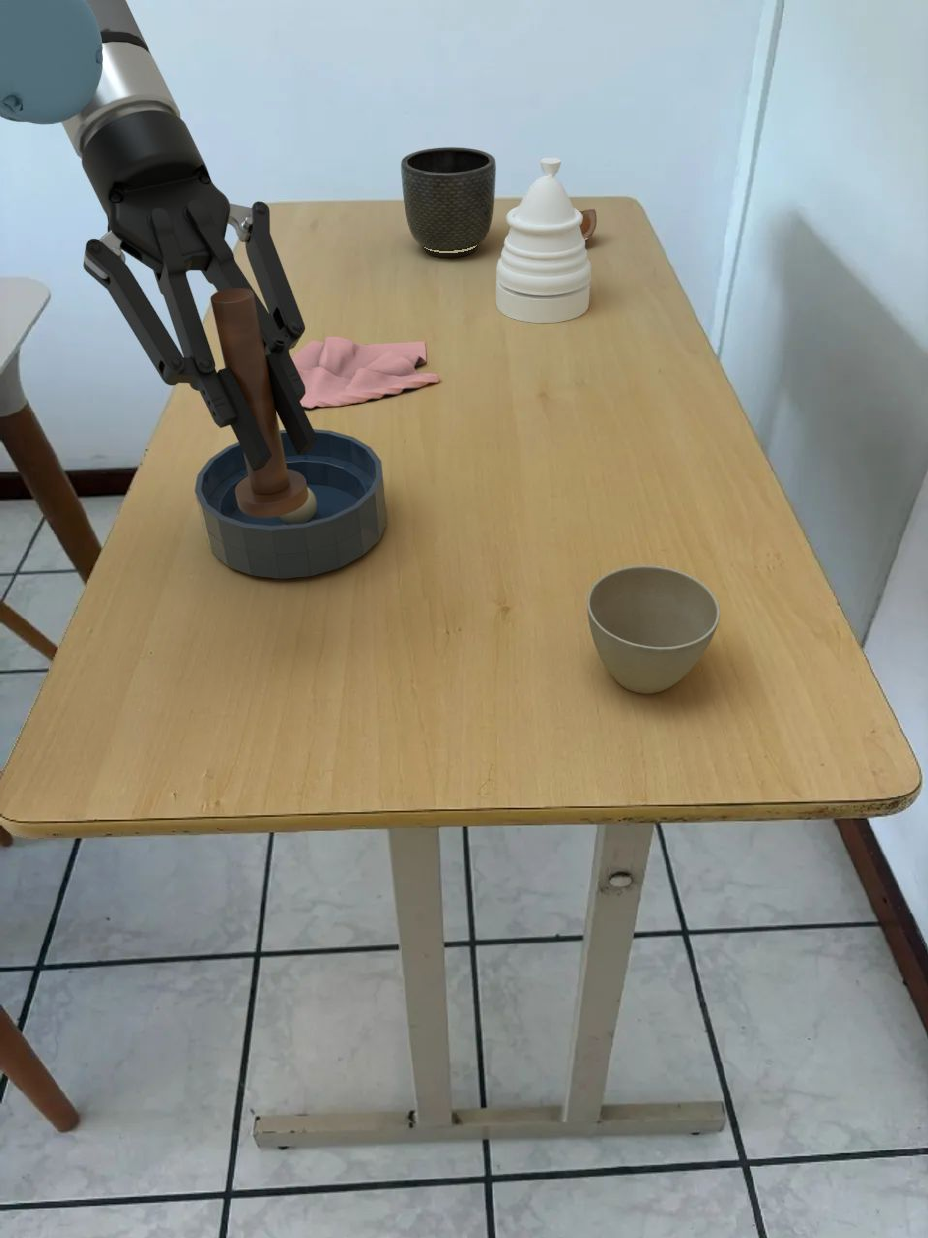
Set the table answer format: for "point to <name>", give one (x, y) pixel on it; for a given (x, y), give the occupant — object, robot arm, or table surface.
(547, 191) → the honey pot
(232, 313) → the wooden peg stand
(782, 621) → the table surface
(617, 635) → the flower pot
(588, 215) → the fruit slice
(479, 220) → the planter
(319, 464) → the bowl
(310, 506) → the dough ball
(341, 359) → the cloth
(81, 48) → the robot arm
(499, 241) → the table surface
